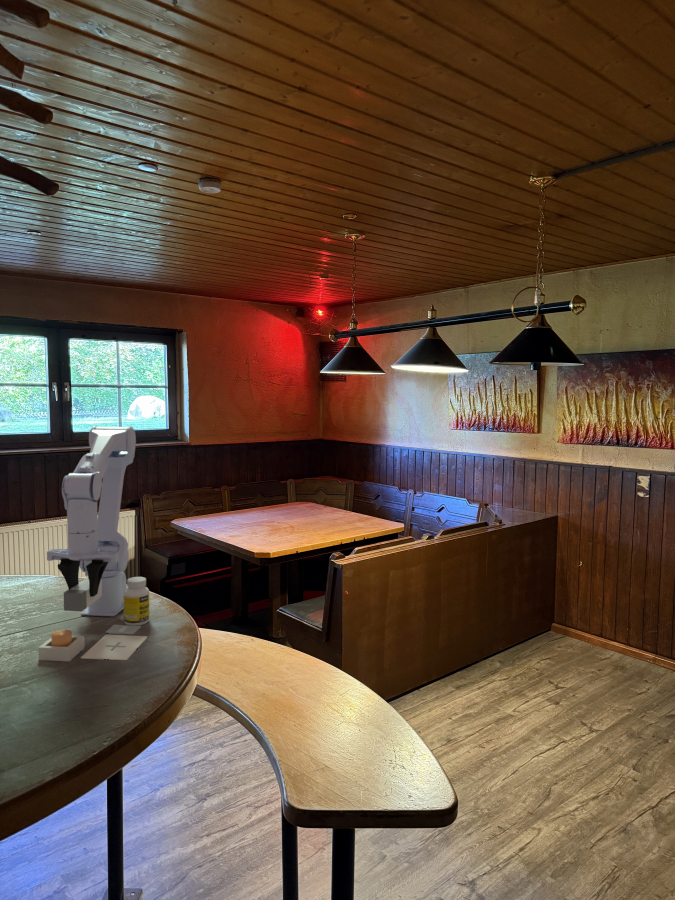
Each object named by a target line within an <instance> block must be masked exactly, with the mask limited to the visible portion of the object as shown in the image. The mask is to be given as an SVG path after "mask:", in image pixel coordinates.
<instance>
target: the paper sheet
mask: <svg viewBox="0 0 675 900" xmlns="http://www.w3.org/2000/svg"><path fill="white" fill-rule="evenodd" d="M147 637H148V638H149V636H146V635H128V634H105V635H104V636H102V638H100V639H99V640H98V641H97V642H96V643H95V644H93V646H92V647H90V649H88V650H87V651H86V652H85V653H84V654H83V655H82V656H80V659H89V660H104V659H106V660H107V659H109V660H108V661H111V660H112V661H126V660H127V661H128V660H129V658H130V657H132V655H134V653H135V652H136V651H137V650H136V649H137V648H138V649H139V647H140V646H141V645H142V644H143V643H144V642H145V641H146V640H147V639H148V638H147Z"/></svg>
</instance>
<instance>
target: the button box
mask: <svg viewBox="0 0 675 900" xmlns="http://www.w3.org/2000/svg"><path fill="white" fill-rule="evenodd" d="M84 649H85V636H83V635H72V643H71V644H70V645H69V646H68V647H58V646H52V640H51V637H50V638H49V639H47V640H46V641H45V642H44V643H42V644H41V645H39V646H38V651H37V652H38V661H49V662H50V661H51V662H71V661H72V660H73V659H74V658H76V657H77V655H78V654H79V653H81V652H82V651H83V650H84ZM80 651H81V652H80Z"/></svg>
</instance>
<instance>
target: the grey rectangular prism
mask: <svg viewBox="0 0 675 900" xmlns="http://www.w3.org/2000/svg"><path fill="white" fill-rule="evenodd" d="M100 597H102V580H100V584H99V588H98V594H96V595H95V596H94V597H90V593H89V579H88V578H85V579H84V580H82V581H81V582H79V584H77V585H76V586H74V587H73V588H71V589H70V590H69V589H67V590H65V591H64V592H63V611H67V612H68V611H69V612H83V611H84V610H85V609H87V608H88V606H90V605H91V604H92V603H94V602H95V601H96V600H98V599H99V598H100Z"/></svg>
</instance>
